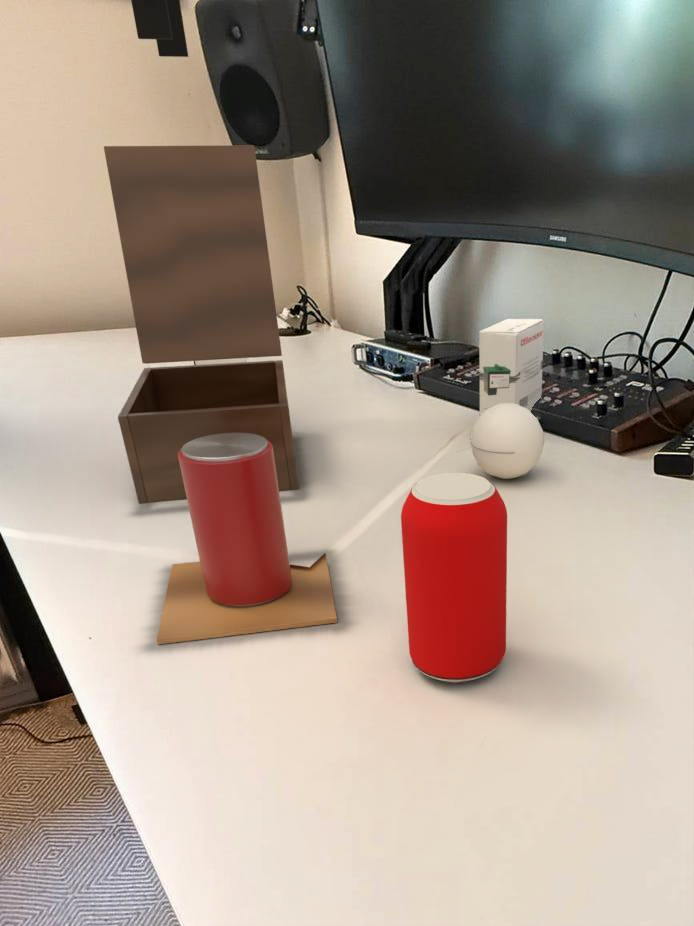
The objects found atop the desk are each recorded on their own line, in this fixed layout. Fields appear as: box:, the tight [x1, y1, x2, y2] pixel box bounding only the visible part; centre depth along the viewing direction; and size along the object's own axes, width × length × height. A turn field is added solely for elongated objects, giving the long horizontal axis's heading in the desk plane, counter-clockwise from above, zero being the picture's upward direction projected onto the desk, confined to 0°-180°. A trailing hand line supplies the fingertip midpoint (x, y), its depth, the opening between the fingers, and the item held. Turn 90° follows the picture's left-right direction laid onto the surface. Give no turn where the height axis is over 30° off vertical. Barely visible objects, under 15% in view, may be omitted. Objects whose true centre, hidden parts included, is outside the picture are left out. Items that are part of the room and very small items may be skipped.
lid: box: [103, 144, 283, 365], centre depth 84 cm, size 20×15×1 cm
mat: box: [156, 552, 338, 645], centre depth 60 cm, size 12×12×1 cm
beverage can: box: [400, 472, 508, 683], centre depth 48 cm, size 6×6×12 cm
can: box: [178, 433, 292, 607], centre depth 57 cm, size 6×6×11 cm
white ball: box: [455, 403, 545, 480], centre depth 79 cm, size 10×7×7 cm
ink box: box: [478, 318, 545, 421], centre depth 93 cm, size 9×5×12 cm, turn 156°
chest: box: [117, 359, 300, 505], centre depth 81 cm, size 20×15×9 cm
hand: (165, 48), depth 73 cm, fingers open, 13 cm apart
